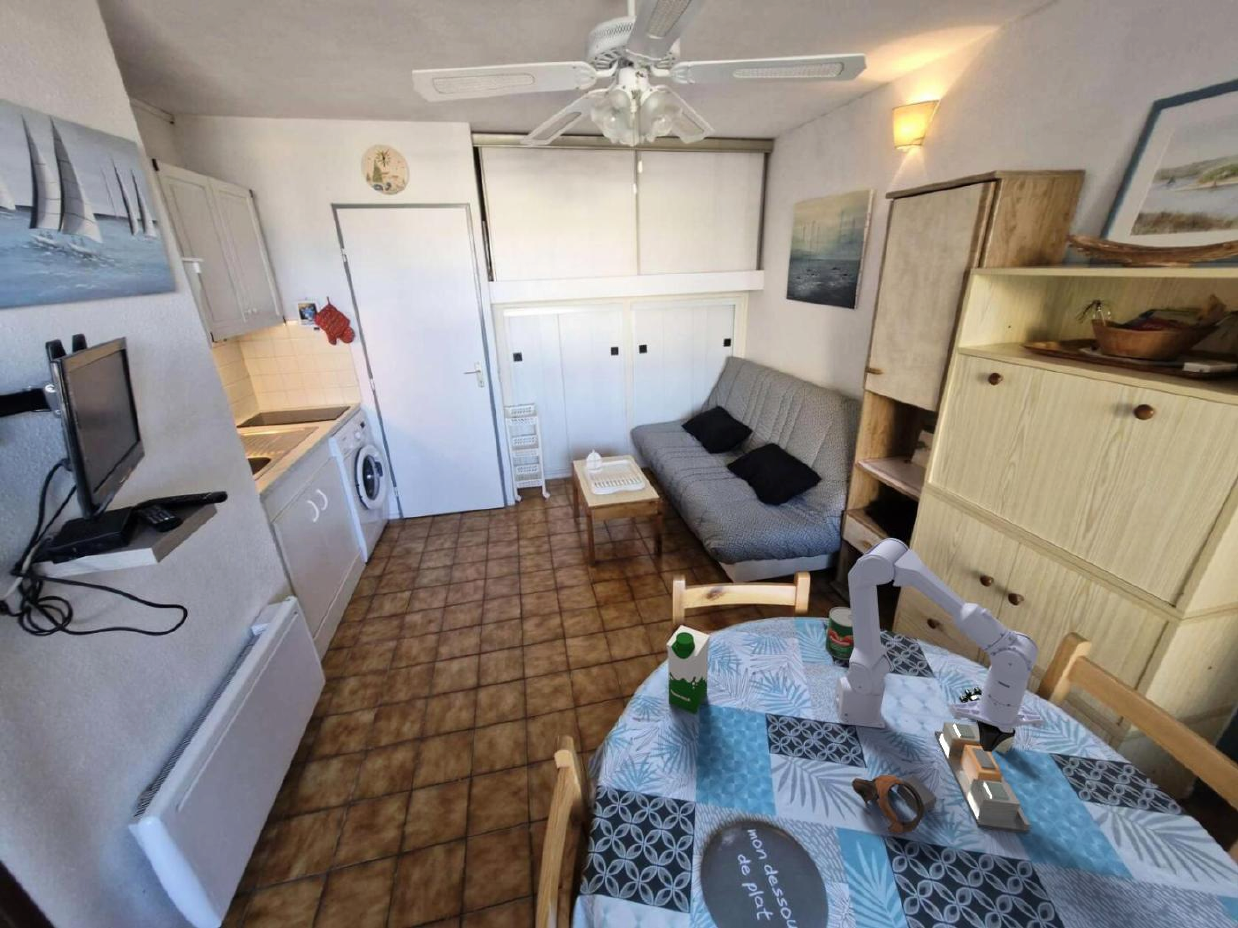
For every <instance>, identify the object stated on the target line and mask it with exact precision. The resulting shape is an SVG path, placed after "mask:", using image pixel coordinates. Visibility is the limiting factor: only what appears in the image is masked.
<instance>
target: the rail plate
mask: <svg viewBox="0 0 1238 928" xmlns="http://www.w3.org/2000/svg"><path fill="white" fill-rule="evenodd" d="M934 736H935V739H936V742H937V743H938V746H939V748H940V750H941V752H942V754H943V756H944V758H945V760H946V762H947V765H948V766H949V769H950V771H951V774H952V775H953V778H954V780H955V782H956V784H957V786H958V787H959V790H960V792H961V795H962V796H963V798H964V800H965V803H966V805H967V808H968V809H969V811H970V813H971V816H972V818H973V820H974V822H975V824H976V827H977V828H978V829H985V830H986V829H987V830H994V831H1001V832H1006V833H1007V832H1009V833H1013V834H1014V833H1016V834H1023V835H1027V834H1028V833H1029V831H1030V830H1029V829H1030V828H1031V827H1030V826H1031V823H1030V822H1029V820H1028V818H1027V816H1026V815H1025V813H1024V811H1023V809H1022V808H1021V803H1020V800H1019V799H1018V797H1017V796H1016V794H1015V792H1014V790H1013V787H1011V784H1010V783H1009V782H1007V781H1006V780H1005V778H1004V775H1002V778H1001V781H1000V782H994V781H986V780H977V779H973V781H972V785H971V784H970V782H969V780H968V777H967V775H966V773H965V771H964V769H963V767H962V765H961V763H960V760H961V757H962V753H963V750H964V746H965V745H973V746H981V745H980V743H979V741H980V738H979V729H978V726H976V724H968V723H957V722H950V721H949V722H948V721H944V722H943V727H942V731H939V730H934Z"/></svg>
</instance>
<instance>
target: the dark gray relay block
mask: <svg viewBox="0 0 1238 928" xmlns="http://www.w3.org/2000/svg"><path fill="white" fill-rule="evenodd" d="M902 781H904V782H907V783H909V784H910V785H911V786H913V787H914V788H915V789H916V791H917V792H918V793H919V795H920V797H921V800H922V802H923V806H924V814H926V813H927V812H928V811H931V810H932V809H934V808H935V807H936V804H937V803H936V802H937V799H938V797H937V796H936V795H935V794H934V793H933V792H932V791H931V790H930V789H929V788H928V787H927V786H926V785H925V784H924V783H923V782H922V781H921V780H920V779H919V778H918V777H917V776H916V775H915V774H913V775H911V776H909V777H907V778H905V779H902ZM896 794H898V795H899V797H900V798H901V799H903V800H904V802H905V803H906V804H907V805H908V806H909V807H910V808H911V809H912V810H913V811H914V812H915V814H917V812H918V806H917V802H916V799H915V797H914V795H913V794H912V793H911V792H910V791H909V790H908V789H907V788H906V787H904V786H902V785H897V789H896Z"/></svg>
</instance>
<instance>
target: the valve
mask: <svg viewBox="0 0 1238 928" xmlns="http://www.w3.org/2000/svg"><path fill="white" fill-rule="evenodd" d="M964 694H965V695H964V696H963V695H960V696H959V697H958V699H959V701H960V704H962V703H967V702H972V701H977V700H980V697H978V696H981V694H982V690H981V688H980V687H978V686H975V687H974V688H973V691H970V689H965V690H964ZM977 695H978V696H977ZM1013 728H1014V729H1015V731H1017V727H1013ZM1014 741H1015V736H1014V737H1011V738H1008V739H1006V740H1004V741H1003V742H1001V743H1000V744H999V745H998V746H997V747H996V748H995V749H994V750H993V751H995V752H997V751H998V753H1000V754H1007V751H1008V752H1009V751H1010V749H1011V746H1012V745H1013V744H1014V743H1015V742H1014Z"/></svg>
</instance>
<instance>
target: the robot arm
mask: <svg viewBox="0 0 1238 928" xmlns="http://www.w3.org/2000/svg"><path fill="white" fill-rule="evenodd" d="M847 580H848V590H849V591H848V592H849V601H850V602H849V603H850V609H851V615H852V626H853V637H854V649H853V652H852V655H851V657H850V659H848V660H849V663H848V664H849V665H848V669H847V671H846V674H845V676H841V677H837V678H836V683H835V691H834V695H833V701H834V704H835V708H836V712H837V715H838V719H839V722H840V724H842V725H851V726H857V727H858V726H860V727H866V728H867V727H869V728H877V729H878V728H879V729H886V724H885V721H884V719H883V716H882V714H881V710H882V704H883V700H884V693H885V689H886V683H885V677H887V675H888V674H889V673H890V672H891V671H892V667H893V666H892V665H893V664H892V661H891V659H890V658H889V656H888V654H887V648H886V647H885V646H884V645H882V644H881V643H882V642H881V630H880V616H879V604H878V590H877V586H879V585H884V584H888V583H889V582H891V581H892V580H894V581H893V584H892V586H893V587H913V588H914V589H917V590H918V591H919V592H920V593H922V594H923V595H924V596H926V597H927V598H929V599H930V600H931V601H932V602H933V603H935V604H936V605H938V606H939V607H940V608H942V609H943V610H944V611H945V612H947V613H949V614H950V615H951V617H952V621H953V625H954V626H955V628H957V629H958V630H959V631H960V632H961V633H963V634H964V635H965V636H967V638H969V640H971V641H972V642H973V643H975V644H976V645H977V646H978V647H979V648H980V649H982V650H983V652H984V653H987V655H988V656H989V662H990V664H991V665H990V666H989V668H988V670H987V671H988V672H987V675H986V678H985V681H984V685H983V688H982V690H981V692H982V694H981V695H980V697H979V699H980V700H977V701H972V702H971V701H968V702H967V703H962V702H961V703H962V704H961V703H951V707H950V710H949V711H950V713H951V715H952V717H953V719H954V720H961V718H966V719H972V720H975V721H976V724H977V728H978V730H979V738H980V741H979V743H980V745H981V746H982V748H983V750H984V751H987V752H990V753H992V752H993V751H995V750H994V749H995V748H996V747H997V746H998V745H999V744H1000V743H1001V742H1003V741H1004V740H1006V739H1008V738H1011V737H1014V738H1015V736H1016V731H1017V730H1016V731H1015V729H1014V728H1013V727H1016V728H1017V727H1022V726H1028V725H1032V726H1033V727H1034V728H1038V729H1041V728H1042V724H1043V722H1044V719H1043V718H1042V717H1041V715H1040V714H1039V712H1038V711H1034V710H1033V711H1032V710H1027V709H1024V708H1021V705H1022V702H1023V700H1024V696H1025V693H1026V690H1027V687H1028V685H1029V680H1030V676H1031V675H1032V673H1033V672H1032V671H1033V668H1034V666H1035V664H1036V662H1037V659H1038V656H1039V648H1038V646H1037V644H1036V642H1035V641H1034V640H1032V639H1031V637H1030V636H1029V635H1028V634H1025V633H1023V632H1019V631H1014V630H1013V629H1011V628H1010V627H1009V628H1008V627H1007V626H1006V625H1004V624H1003V623H1002V622H1001V621H999V620H998V619H997V618H995V617H994V616H993V612H992V611H991V610H989V609H988V608H987V607H985V608H983V607H982V606H980V605H979V604H978V603H974V602H972V603H971V602H966V601H965V600H964V599H963V598H962V597H960V596H959V595H958V594H957V593H956V592H955V591H954V590H952V588H951V587H949V586H948V585H947V584H946V583H945V582H944V581H943V580H942V579H940V578H939V577H938V576H937V574H935V573H934V572H933V571H932V570H931V569H930V568H929V567H927V566H926V564H924V563H923V561H922V560H921V558H920V556H919V555H918V553H917V552H916V551H915V550H913V549H911V548H909V546H908V545H906V544H905V542H903V541H902V540H900V539H897V538H893V537H889V538H885V539H882V540H881V541H879V542H877V543H875V544H874V545H873V546H872V547H871V548H870V549H869V550H868V551H866V552H865V553H864V554H863V555H862V556H861V557H859V558H858V559H857V560H856V563H855V564H854V565H853V566H852V568H851V569H850V570H849V572H848V573H847Z"/></svg>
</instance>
